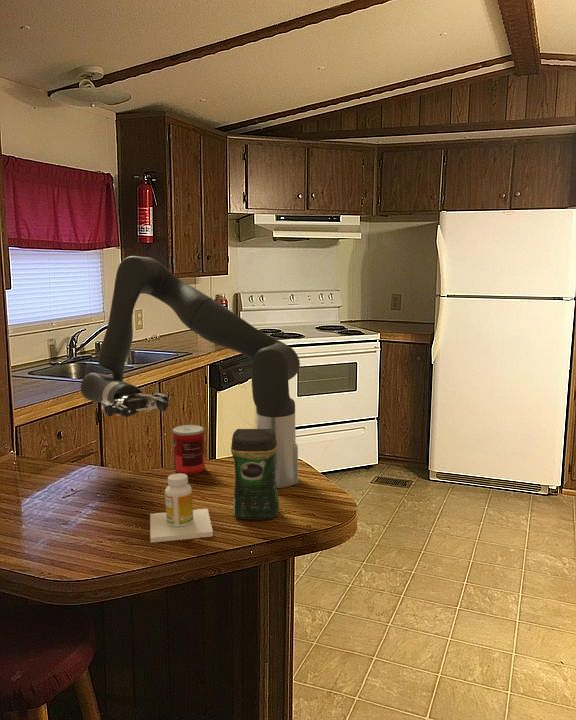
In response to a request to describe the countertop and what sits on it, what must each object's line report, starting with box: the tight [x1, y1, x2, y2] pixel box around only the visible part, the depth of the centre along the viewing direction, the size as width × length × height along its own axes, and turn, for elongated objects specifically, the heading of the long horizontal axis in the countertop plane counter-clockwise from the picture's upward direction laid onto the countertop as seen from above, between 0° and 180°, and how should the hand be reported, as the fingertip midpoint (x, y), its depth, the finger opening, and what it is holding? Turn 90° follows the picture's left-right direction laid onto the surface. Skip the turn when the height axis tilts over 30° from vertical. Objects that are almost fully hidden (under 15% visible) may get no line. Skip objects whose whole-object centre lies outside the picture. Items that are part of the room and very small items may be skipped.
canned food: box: [172, 424, 206, 475], centre depth 168 cm, size 8×8×11 cm
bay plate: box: [149, 508, 214, 543], centre depth 134 cm, size 12×12×1 cm
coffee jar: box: [230, 428, 280, 520], centre depth 138 cm, size 10×8×19 cm
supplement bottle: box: [164, 473, 194, 527], centre depth 133 cm, size 5×5×10 cm
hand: (146, 409), depth 144 cm, fingers open, 8 cm apart
